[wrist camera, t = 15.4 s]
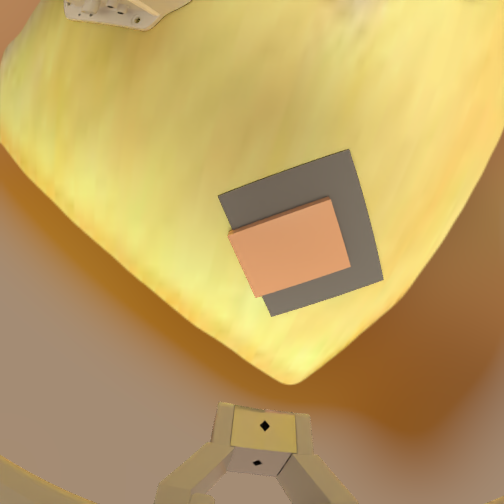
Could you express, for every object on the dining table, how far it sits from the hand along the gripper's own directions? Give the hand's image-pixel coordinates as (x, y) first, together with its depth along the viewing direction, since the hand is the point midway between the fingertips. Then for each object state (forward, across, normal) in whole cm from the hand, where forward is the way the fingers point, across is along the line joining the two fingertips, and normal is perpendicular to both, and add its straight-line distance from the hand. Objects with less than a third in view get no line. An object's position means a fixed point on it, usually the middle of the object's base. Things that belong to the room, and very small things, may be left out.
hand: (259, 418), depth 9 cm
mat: (+34, +7, -6) cm, 35 cm away
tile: (+33, -1, -11) cm, 35 cm away
